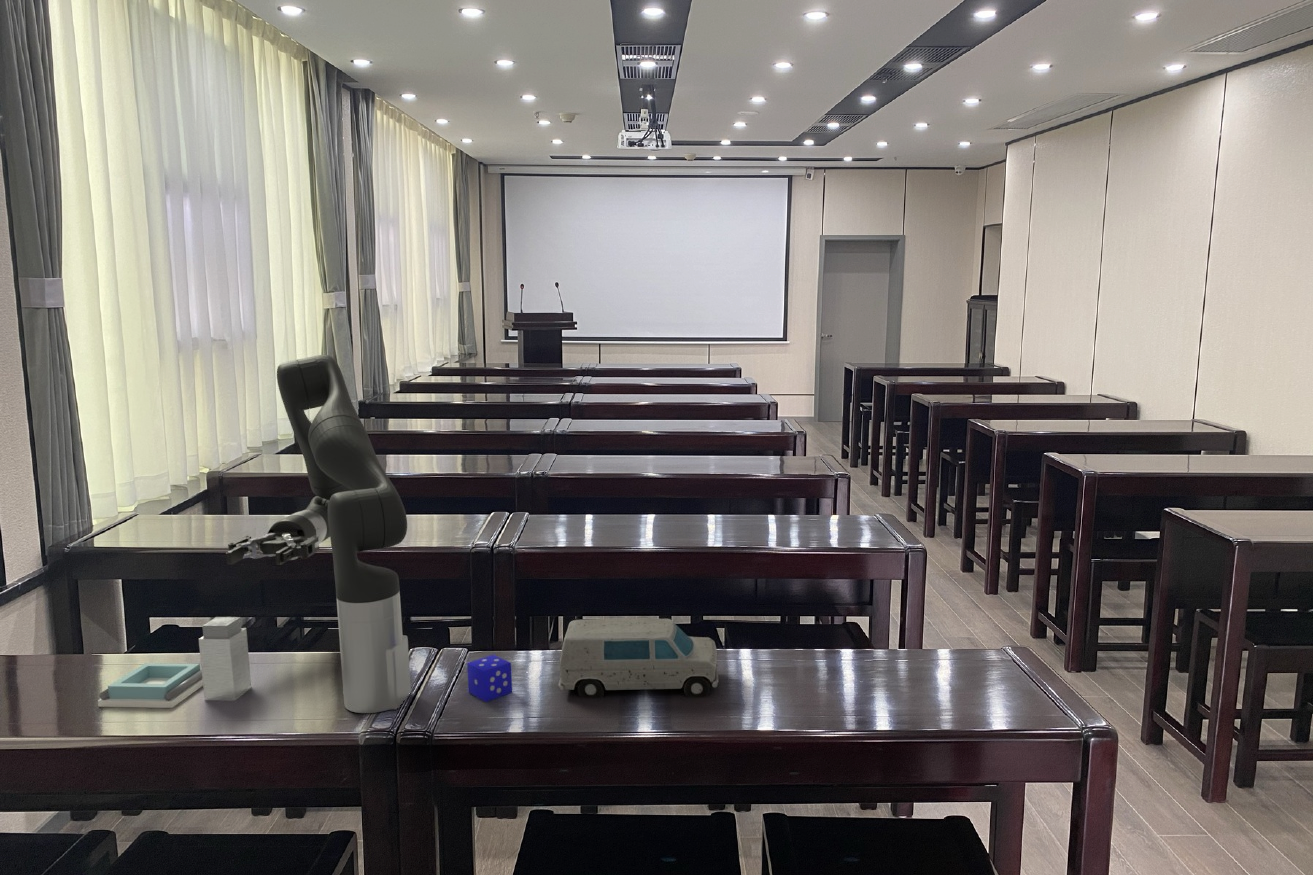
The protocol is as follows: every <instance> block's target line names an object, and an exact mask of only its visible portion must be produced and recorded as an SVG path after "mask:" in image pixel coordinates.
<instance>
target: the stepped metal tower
mask: <svg viewBox="0 0 1313 875" xmlns="http://www.w3.org/2000/svg"><path fill="white" fill-rule="evenodd" d="M201 628H202V636H201V637H200V638H198V647H199V656H200V669H202V679H203V686H202V689H203V697H204V701H230V702H231V701H233V702H235V701H236V700H238V699H239V698H240V697H242V696H243V695H244V694H245V693H247V692H248V691H249V690H250V689H251V688H252V679H251V676H252V675H251V669H250V668H251V666H250V659H249V658H250V656H249V645H248V634H247V633H248V632H247V628H246V627H242V620H241V616H215V617H214V618H212V619H211V620H209V621H208V622H206V623H204V624H203V625H202V627H201Z"/></svg>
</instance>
